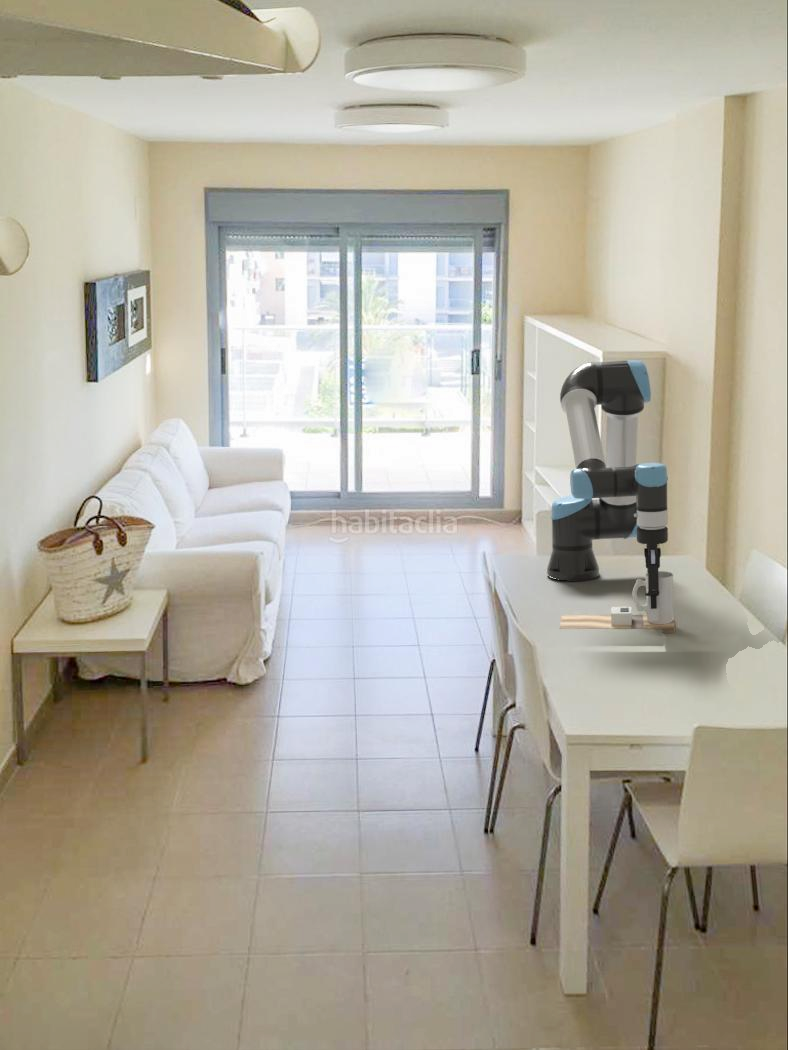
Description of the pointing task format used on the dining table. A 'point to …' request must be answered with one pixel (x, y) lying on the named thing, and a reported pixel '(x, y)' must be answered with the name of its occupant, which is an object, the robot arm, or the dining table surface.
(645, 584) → the mug
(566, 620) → the board
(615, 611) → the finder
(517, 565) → the dining table surface
